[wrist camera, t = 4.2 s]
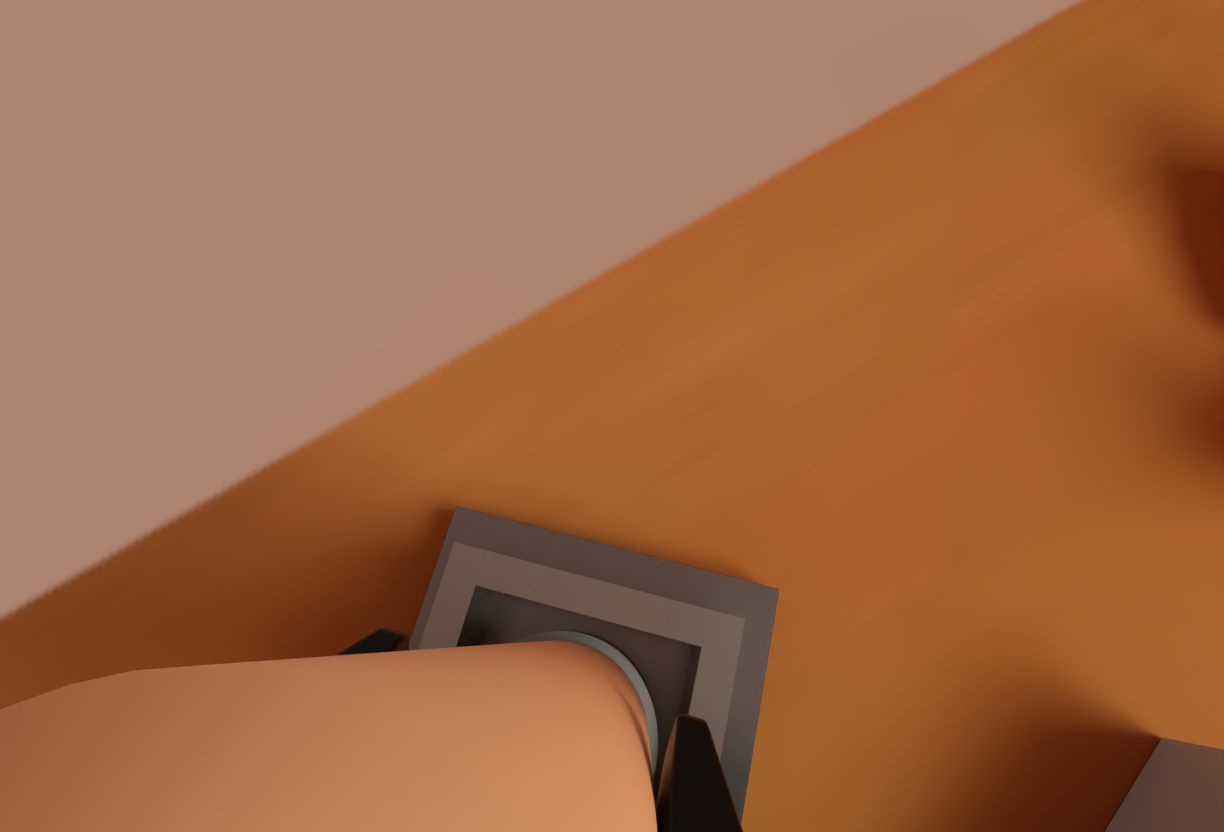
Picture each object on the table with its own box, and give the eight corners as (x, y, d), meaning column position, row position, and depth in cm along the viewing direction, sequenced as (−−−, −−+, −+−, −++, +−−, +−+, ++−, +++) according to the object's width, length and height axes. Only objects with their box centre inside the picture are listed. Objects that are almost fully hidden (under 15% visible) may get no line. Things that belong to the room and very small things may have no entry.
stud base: (705, 985, 14) (725, 1094, 11) (347, 863, 15) (266, 927, 12) (771, 591, 17) (803, 581, 14) (465, 512, 18) (426, 485, 15)
